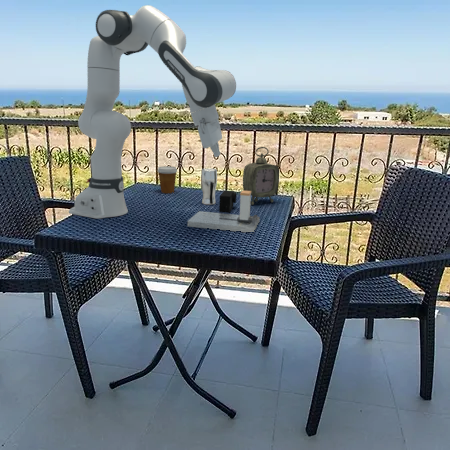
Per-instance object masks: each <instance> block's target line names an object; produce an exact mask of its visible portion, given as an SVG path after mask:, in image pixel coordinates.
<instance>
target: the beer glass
mask: <svg viewBox="0 0 450 450" xmlns="http://www.w3.org/2000/svg"><path fill="white" fill-rule="evenodd" d="M200 177H201V178H200V181H201V183H200V184H201V190H202V200H201V204H203V205H206V206H211V205H215V204H216V203H217V202H216V189H217V185H218V170H217V169H216V168H202V169H201V176H200Z"/></svg>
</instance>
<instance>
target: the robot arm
mask: <svg viewBox="0 0 450 450" xmlns="http://www.w3.org/2000/svg"><path fill="white" fill-rule="evenodd" d="M95 31H96V34H97V35H96V36H93V38H91V39H90V42H89V45H88V50H87V51H88V53H87V66H86V67H87V69H86V70H87V89H86V91H87V92H86V98H85V103H84V107H83V110H82V113H81V114H80V116H79V118H78V123H77V124H78V128H79V130H80V132H81V133H82V134H84V135H85V136H86V137H88V138H90V139H93V140H95V145H94V146H95V148H94V151H93V153H92V154H91V155H90V166H91V177H89V178H88V179H86V181H85V183H88V186H87V187H86V188H85V189H84V190H82V191H81V192H80V193H79V194H77V195H76V197H75V199H74V206H73V207H71V208H70V209H69V210H68V214H69V215H75V216H79V217H87V218H90V219H91V218H92V219H104V218H113V217H119V216H123V215H126V214H127V213H128V212H129V210H128V207H127V204H126V200H125V196H124V195H125V194H124V191H125V189H124V185H125V183H124V177H123V173H122V172H123V171H122V154H123V149H124V145H125V142H126V140H127V138H129V136H130V134H131V132H132V124H131V121H130V120H129V118H128V117H127V116H126V115H124V114H123V113H121V112H119V111H116V110H113V109H114V105H115V102H116V100H117V99H118V97H119V95H120V86H121V85H120V82H121V80H120V77H121V76H120V62H121V61H120V60H121V57H122V55H125V56H130V55H133V54H138V53H140V52H143V51H144V50H146V49H147V47H148V46H149V47H150V48H151V49H153V50H154V52H156V53H157V54H158V57H159V59H160V60H161V61H162V62H163V65H164V66H165V67H166V68H167V69H168V70H169V71H170V72H171V73H172V74H173V75H174V76H175V78H177V80H178V82H180V83H181V87H182V91H183V94H184V98H185V101H186V103H188V105H189V112H190V116H191V118H192V121H193V125H194V126H195V127H197V132H198V136H199V139H200V143H201V146H202V148H203V149H207V148H210V150H211V152H212V154H213V155H214V156H213V157H214V158H217V157H220V155H221V151H220V145H219V141H221V140H222V139H223V133H222V128H221V124H220V121H219V119H220V115H219V112H218V111H217V107H216V104H218V103H221V102H222V103H223V102H224V101H227V100H229V99H230V98H231V97H233V96H234V94H235V93H236V90H237V82H236V78H235V76H234V75H233V73H231V72H230V71H228V70H225V69H208V68H204V67H202V66H194V64H192V62H191V61H190V60H189V59H188V58H187V56H185V55H184V51H185V49H186V46H187V37H186V34H185V31H184V30H183V29H182V28H181V27H180V26H179V25H178V24H177V23H176V22H175V21H174V20H172V18H170V17H169V16H168V15H166V14H165V13H164V12H162V11H161V10H159V9H158V8H157V7H154V6H153V5H150V4H148V5H147V4H145V5H142V6H140V7H139V9H138V10H137V11H136V12H135V13H134V14H132V15H131V14H129V12H127V11H124V10H116V9H106V10H102V11H101V12H100V13H99V14H98V15H97V17H96V21H95Z"/></svg>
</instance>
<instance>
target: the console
mask: <svg viewBox="0 0 450 450" xmlns="http://www.w3.org/2000/svg"><path fill="white" fill-rule="evenodd" d="M239 216H240V214H232V213H224V212H212V211H201V210H199V211H198V212H196V213H195V214H194V215H193V216H191V218H189V219H188V220H187V227H190V228H198V229H207V228H209V229H208V230H217V229H220V230H219V231H226V230H230V231H229V232H236V231H241V232H240V233H246V232H255V231H256V229H257V228H258V226H259V224H258V223H260V216H258V214H254V215H253V216H252V215H250V217H251V218H252V220H251V222H246V221H237V218H238V217H239ZM257 225H258V226H257ZM254 230H255V231H254Z"/></svg>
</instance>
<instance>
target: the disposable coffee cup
mask: <svg viewBox="0 0 450 450" xmlns="http://www.w3.org/2000/svg"><path fill="white" fill-rule="evenodd" d="M156 171H157V173H158V179H159V185H160V187H159V188H160V192H161V193H162V194H173V193H175V188H176V187H175V186H176V180H177V179H176V177H177V172H178V170H177V167H175V166H167V165H166V166H158V168H157V170H156ZM172 192H173V193H172Z"/></svg>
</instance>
